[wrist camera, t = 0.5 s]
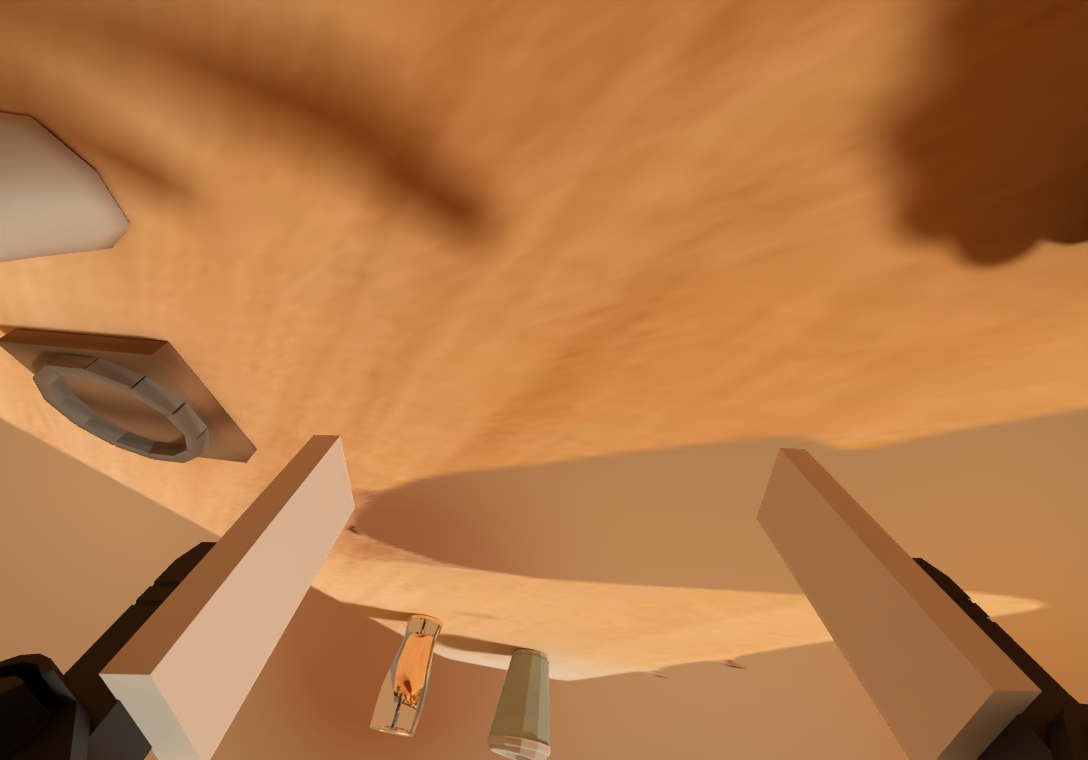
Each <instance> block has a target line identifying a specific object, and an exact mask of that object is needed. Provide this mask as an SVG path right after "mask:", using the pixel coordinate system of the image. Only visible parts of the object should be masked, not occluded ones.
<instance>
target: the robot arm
mask: <svg viewBox="0 0 1088 760" xmlns="http://www.w3.org/2000/svg"><path fill="white" fill-rule="evenodd" d="M354 508H355V506H354V501H353V496H352V491H351V486H350V481H349V476H348V471H347V466H346V462H345V457H344V452H343V447H342V442H341V437H340V436H334V435H314V436H313V437H312V438H311V439H310V440H309V441H308V442H307V443H306V444H305V446H304V447H303V448H302V449H301V450H300V451H299V452H298V453H297V454H296V456H295V457H294V458H293V459H292V460H291V461H290V462H289V463H288V464H287V466H286V467H285V468H284V469H283V470H282V471H281V472H280V473H279V474H278V476H277V477H276V478H275V479H274V480H273V481H272V482H271V483H270V484H269V486H268V487H267V488H266V489H265V490H264V491H263V492H262V493H261V494H260V495H259V497H258V498H257V499H256V500H255V501H254V502H253V503H252V504H251V505H250V507H249V508H248V509H247V510H246V511H245V512H244V513H243V514H242V515H241V517H240V518H239V519H238V520H237V521H236V522H235V523H234V524H233V525H232V527H231V528H230V529H229V530H228V531H227V532H226V533H225V534H224V535H223V537H222V538H221V539H220V540H219V541H218V542H201V543H200V544H198V545H197V546H195V547H194V548H192V549H191V550H190V551H188V552H187V553H185V554H184V555H182V556H181V557H179V558H178V559H176V560H175V561H174V562H173V563H172V564H171V565H170V566H169V567H168V568H167V569H166V570H165V571H164V572H163V573H162V574H161V575H160V576H159V577H158V578H157V579H156V580H155V582H154V585H153V586H150V587H149V588H148V589H147V590H146V591H145V592H144V593H143V594H142V595H141V596H140V597H139V598H138V599H137V600H136V604H135V605H131V606H130V607H129V608H128V609H127V610H126V611H125V612H124V613H123V615H122V616H121V617H120V618H119V619H118V620H117V621H116V622H115V623H114V624H113V625H112V626H111V627H110V628H109V629H108V630H107V631H106V632H105V633H104V634H103V635H102V636H101V637H100V638H99V639H98V640H97V641H96V642H95V643H94V644H93V645H92V646H91V647H90V648H89V650H88V651H87V652H86V653H85V654H84V655H83V656H82V657H81V658H80V659H79V660H78V661H77V662H76V663H75V664H74V665H73V666H72V667H71V668H70V669H69V670H68V671H67V672H66V673H65V674H64V675H63V674H62V673H61V672H60V670H59V669H58V668H57V666H56V665H55V664H54V662H53V661H52V660H51V659H50V658H48V657H46V656H44V655H41V654H29V655H19V656H16V657H13V658H10V659H7V660H4V661H1V662H0V760H144V759H145V757H146V756H147V754H148V753H149V751H150V750H152V751H153V753H154V754H155V755H156V757H157V758H158V760H210V759H211V757H212V755H213V754H214V752H215V750H216V748H217V747H218V745H219V743H220V741H221V740H222V738H223V736H224V734H225V733H226V731H227V729H228V727H229V726H230V724H231V722H232V721H233V719H234V717H235V715H236V714H237V712H238V710H239V708H240V707H241V705H242V703H243V702H244V700H245V698H246V696H247V695H248V693H249V691H250V689H251V688H252V686H253V684H254V682H255V681H256V679H257V677H258V675H259V674H260V672H261V670H262V668H263V667H264V665H265V663H266V661H267V660H268V658H269V656H270V655H271V652H272V651H273V649H274V648H275V646H276V644H277V642H278V640H279V639H280V637H281V635H282V633H283V632H284V630H285V628H286V627H287V625H288V623H289V622H290V620H291V618H292V616H293V615H294V613H295V611H296V609H297V608H298V606H299V604H300V602H301V601H302V599H303V597H304V595H305V594H306V592H307V590H308V588H309V587H310V585H311V583H312V582H313V580H314V578H315V576H316V575H317V573H318V571H319V569H320V568H321V566H322V564H323V562H324V561H325V559H326V557H327V555H328V554H329V552H330V550H331V548H332V547H333V545H334V543H335V542H336V540H337V538H338V536H339V535H340V533H341V531H342V529H343V528H344V526H345V524H346V522H347V521H348V519H349V517H350V515H351V514H352V512H353V510H354ZM757 520H758V521H759V523H760V524H761V526H762V527H763V529H764V530H765V532H766V534H767V535H768V537H769V538H770V540H771V542H772V543H773V544H774V546H775V548H776V549H777V551H778V553H779V554H780V556H781V557H782V559H783V560H784V562H785V564H786V565H787V567H788V568H789V570H790V572H791V573H792V575H793V576H794V578H795V579H796V581H797V582H798V584H799V585H800V587H801V589H802V590H803V592H804V593H805V595H806V597H807V598H808V600H809V601H810V603H811V605H812V606H813V608H814V609H815V611H816V612H817V614H818V616H819V617H820V619H821V620H822V622H823V624H824V625H825V627H826V628H827V630H828V631H829V633H830V635H831V636H832V638H833V639H834V641H835V642H836V644H837V646H838V647H839V649H840V650H841V652H842V653H843V655H844V657H845V658H846V660H847V661H848V663H849V664H850V666H851V668H852V669H853V671H854V672H855V674H856V676H857V677H858V678H859V680H860V682H861V683H862V685H863V687H864V688H865V690H866V691H867V693H868V694H869V696H870V698H871V699H872V701H873V702H874V704H875V705H876V707H877V709H878V710H879V712H880V713H881V715H882V716H883V718H884V720H885V721H886V723H887V724H888V726H889V727H890V729H891V731H892V732H893V734H894V735H895V737H896V739H897V740H898V741H899V743H900V745H901V746H902V748H903V750H904V751H905V752H906V754H907V756H908V757H909V759H910V760H1088V704H1080V703H1078V702H1077V701H1076V700H1075V699H1074V698H1073V697H1072V696H1070V695H1069V694H1068V693H1067V692H1066V691H1065V690H1064V689H1063V688H1062V687H1061V686H1060V685H1059V684H1058V683H1057V682H1056V681H1055V680H1054V679H1053V678H1052V677H1051V676H1050V675H1049V674H1048V673H1047V672H1046V671H1045V670H1044V669H1043V668H1042V667H1040V665H1039V664H1038V663H1037V662H1036V661H1034V660H1033V659H1032V658H1031V657H1030V656H1029V655H1028V654H1027V653H1026V652H1025V651H1024V650H1023V649H1022V648H1021V647H1020V646H1019V645H1018V644H1017V643H1016V642H1015V641H1014V640H1013V639H1012V638H1011V637H1010V636H1009V635H1008V634H1007V633H1006V632H1005V631H1004V630H1003V629H1002V628H1001V627H1000V626H999V625H998V624H997V623H995V622H992V621H991V620H990V617H989V616H988V615H987V614H986V613H985V612H984V611H983V610H982V609H981V608H980V607H979V606H978V605H977V604H976V603H972V602H971V598H970V597H969V596H968V595H967V594H966V593H965V592H964V591H963V590H962V589H960V587H959V586H958V585H956V584H955V583H954V582H953V581H952V580H951V579H950V578H949V577H948V576H947V575H945V574H943V573H942V572H941V571H939V570H938V569H936V568H935V567H933V566H932V565H931V564H929V563H928V562H926V561H925V560H923V559H922V558H911V557H910V556H909V555H908V554H907V553H906V552H905V551H904V550H903V549H902V548H901V547H900V546H899V545H898V544H897V543H896V542H895V541H894V540H893V539H892V537H891V536H889V535H888V534H887V532H886V531H885V530H884V529H883V528H882V527H881V526H880V525H879V524H878V523H877V522H876V521H875V520H874V519H873V518H872V517H871V516H870V515H869V514H868V513H867V512H866V511H865V510H864V509H863V508H862V507H861V506H860V505H859V504H858V503H857V502H856V501H855V500H854V499H853V498H852V497H851V496H850V495H849V494H848V493H847V492H846V490H845V489H844V488H843V487H842V486H841V485H839V484H838V482H837V481H836V480H835V479H834V478H833V477H832V476H831V475H830V474H829V473H828V472H827V471H826V470H825V469H824V468H823V467H822V466H821V465H820V464H819V463H818V462H817V461H816V460H815V459H814V458H813V457H812V456H811V455H810V454H809V453H808V452H807V451H806V450H805V449H787V448H780V449H779V452H778V455H777V458H776V461H775V464H774V467H773V470H772V473H771V476H770V479H769V482H768V485H767V488H766V491H765V494H764V497H763V500H762V503H761V506H760V509H759V512H758V515H757Z"/></svg>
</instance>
